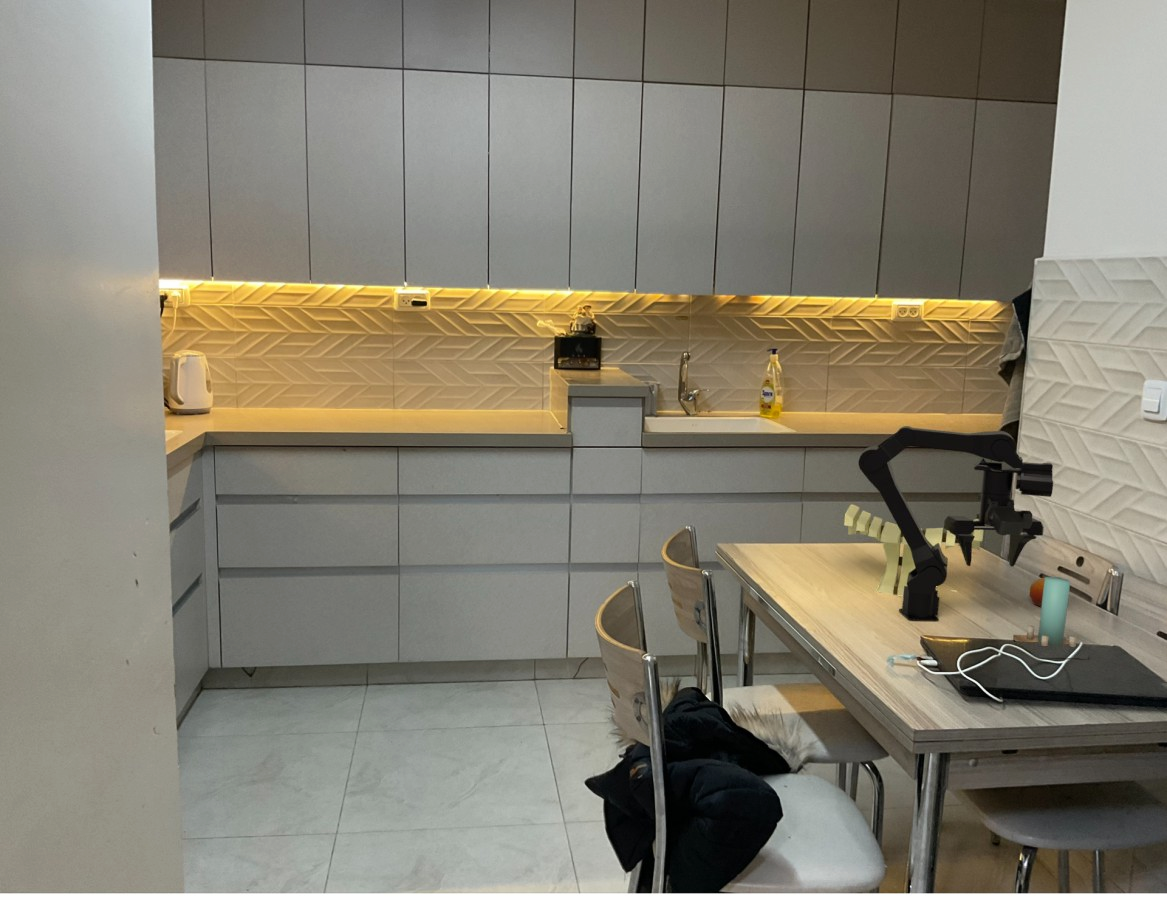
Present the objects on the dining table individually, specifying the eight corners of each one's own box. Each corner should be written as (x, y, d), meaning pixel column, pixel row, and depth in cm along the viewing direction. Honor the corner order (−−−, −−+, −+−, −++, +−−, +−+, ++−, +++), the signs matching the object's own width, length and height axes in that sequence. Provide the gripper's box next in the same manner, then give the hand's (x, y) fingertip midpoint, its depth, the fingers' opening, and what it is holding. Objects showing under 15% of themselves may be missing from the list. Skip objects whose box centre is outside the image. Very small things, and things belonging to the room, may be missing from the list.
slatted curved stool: (974, 587, 234) (982, 515, 231) (975, 606, 219) (983, 529, 216) (846, 571, 244) (852, 501, 242) (839, 587, 230) (845, 513, 227)
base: (1037, 658, 187) (1039, 639, 186) (1012, 640, 197) (1014, 622, 196) (1088, 659, 187) (1090, 641, 187) (1061, 641, 197) (1063, 624, 196)
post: (1038, 645, 190) (1045, 581, 188) (1036, 638, 195) (1043, 575, 193) (1064, 649, 189) (1071, 584, 187) (1061, 642, 193) (1068, 578, 191)
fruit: (1052, 608, 214) (1042, 573, 217) (1029, 616, 221) (1019, 582, 224) (1082, 607, 216) (1072, 572, 219) (1058, 615, 224) (1048, 581, 226)
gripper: (968, 499, 193) (962, 575, 195) (1061, 500, 193) (1053, 577, 196) (945, 489, 204) (940, 561, 206) (1033, 490, 204) (1026, 562, 207)
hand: (990, 565), depth 203 cm, fingers open, 9 cm apart
